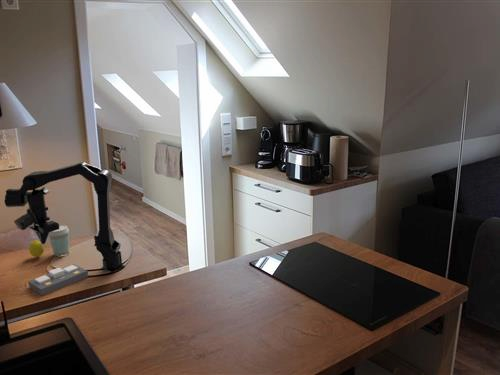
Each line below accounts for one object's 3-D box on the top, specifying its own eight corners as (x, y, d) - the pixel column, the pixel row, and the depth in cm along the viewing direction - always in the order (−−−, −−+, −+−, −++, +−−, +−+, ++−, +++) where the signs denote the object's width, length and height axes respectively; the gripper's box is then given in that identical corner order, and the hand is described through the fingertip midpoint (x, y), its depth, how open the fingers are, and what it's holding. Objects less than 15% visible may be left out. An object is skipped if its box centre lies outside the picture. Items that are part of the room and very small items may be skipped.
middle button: (59, 272, 167) (58, 267, 167) (65, 275, 165) (64, 270, 164) (49, 276, 164) (48, 271, 164) (54, 279, 162) (54, 274, 161)
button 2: (73, 269, 172) (72, 264, 171) (78, 272, 169) (78, 267, 169) (63, 273, 169) (63, 268, 168) (69, 276, 166) (68, 271, 166)
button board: (74, 269, 174) (73, 263, 174) (88, 276, 168) (87, 270, 168) (29, 287, 161) (28, 280, 160) (42, 295, 155) (41, 288, 154)
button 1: (46, 279, 164) (45, 275, 163) (51, 283, 161) (50, 278, 161) (35, 284, 161) (34, 279, 160) (40, 287, 158) (39, 282, 158)
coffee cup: (68, 248, 195) (64, 223, 192) (75, 254, 189) (71, 228, 186) (48, 253, 190) (44, 228, 187) (54, 260, 184) (50, 233, 180)
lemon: (47, 255, 189) (44, 237, 187) (40, 260, 184) (37, 242, 182) (35, 254, 190) (32, 237, 188) (28, 260, 184) (25, 242, 182)
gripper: (4, 206, 165) (11, 244, 170) (26, 216, 154) (33, 256, 158) (33, 199, 174) (39, 236, 178) (57, 208, 162) (63, 246, 166)
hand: (43, 243), depth 170 cm, fingers closed
